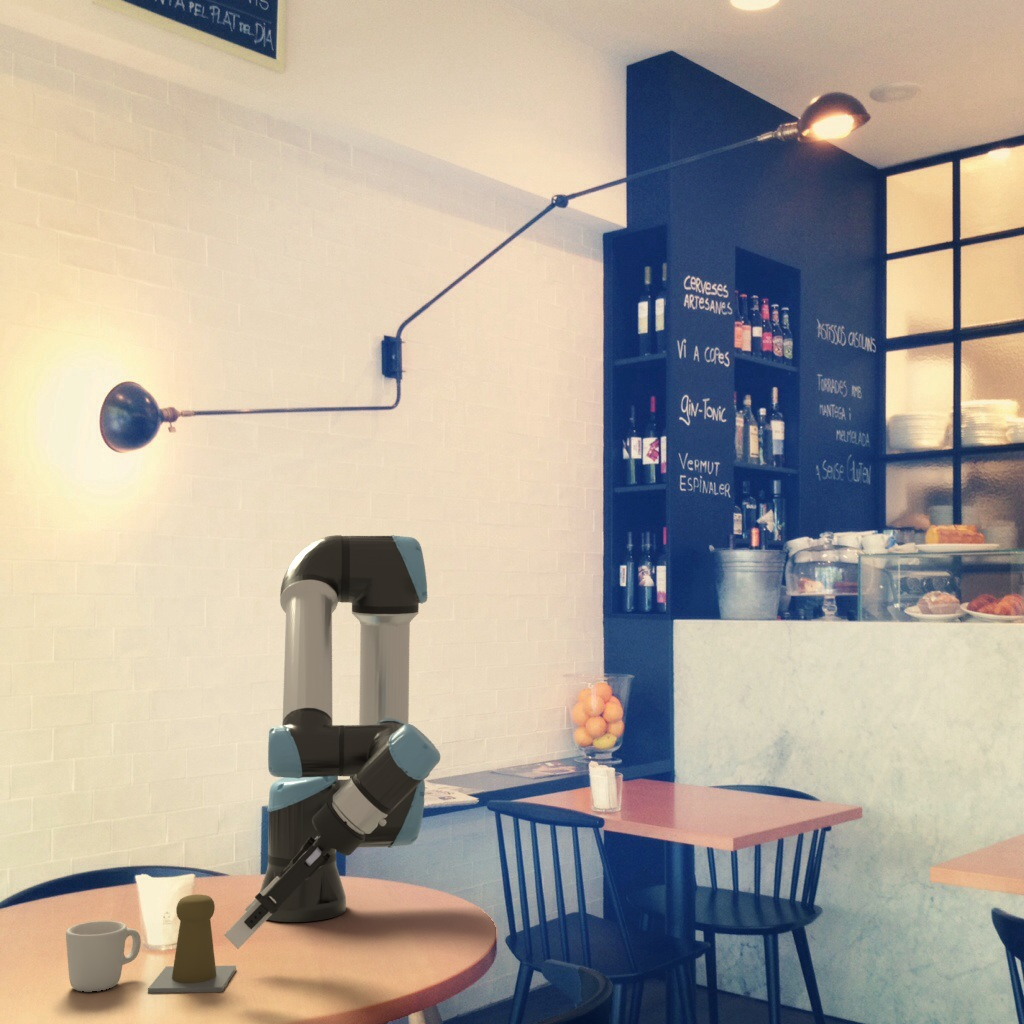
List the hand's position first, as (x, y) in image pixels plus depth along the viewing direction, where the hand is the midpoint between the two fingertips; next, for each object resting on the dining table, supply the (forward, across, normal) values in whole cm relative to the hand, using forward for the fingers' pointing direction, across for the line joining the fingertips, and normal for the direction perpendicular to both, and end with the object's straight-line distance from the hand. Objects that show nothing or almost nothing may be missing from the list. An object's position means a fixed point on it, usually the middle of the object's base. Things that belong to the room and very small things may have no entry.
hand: (241, 928), depth 168 cm
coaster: (+10, 0, 0) cm, 10 cm away
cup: (+18, -1, +8) cm, 20 cm away
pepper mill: (+9, 0, 0) cm, 9 cm away
